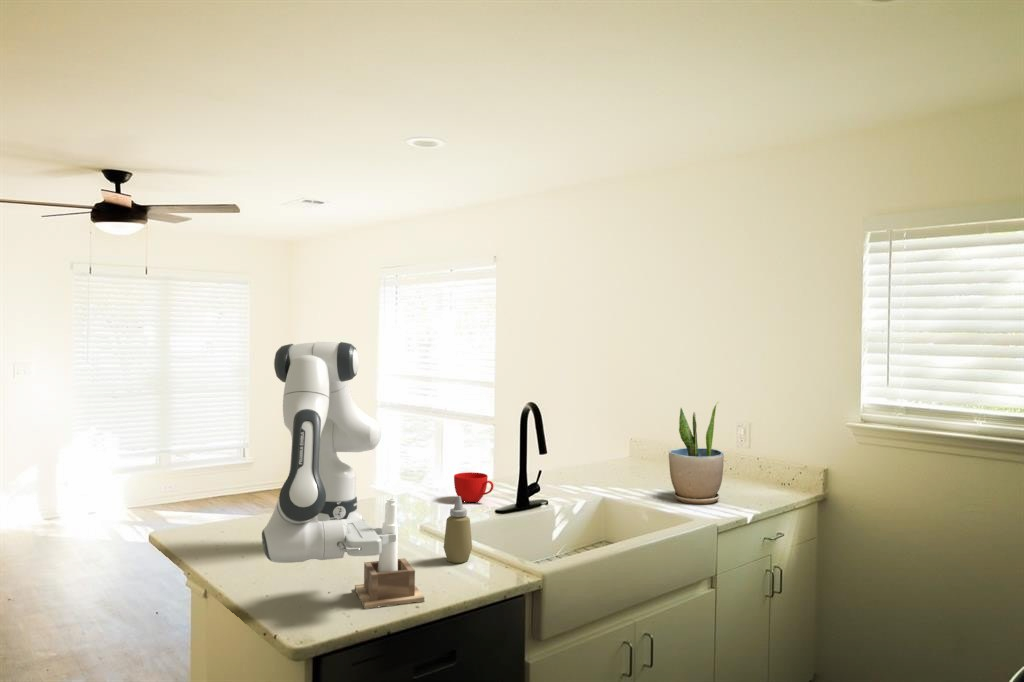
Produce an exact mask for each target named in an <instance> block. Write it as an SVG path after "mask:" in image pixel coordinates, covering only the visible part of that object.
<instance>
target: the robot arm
mask: <svg viewBox="0 0 1024 682" xmlns="http://www.w3.org/2000/svg"><path fill="white" fill-rule="evenodd" d="M356 348H357V347H355V346H354V345H353V344H352V343H349V342H343V341H340V342H335V341H334V342H330V341H315V342H304V343H297V344H293V343H289V344H284V345H281V346H280V347H279V348H278V349H277V350H276V352H275V354H274V355H275V356H274V361H273V368H274V371H275V372H274V373H275V376H276V377H277V379H279V381H281V382H282V383H284V387H283V388H284V389H283V396H282V397H283V398H282V415H283V416H282V417H283V423H284V426H285V427H286V428H287V430H289V432H290V436H291V449H290V450H291V451H290V466H289V471H288V472H289V473H288V476H287V478H286V480H285V481H284V483H283V485H282V486H281V489H280V492H279V495H278V499H277V502H276V505H275V507H274V510H273V511H272V514H271V517H270V519H269V520H268V522H267V524H266V526H265V527H264V528H263V529H262V530H261V531H262V532H261V541H262V543H261V544H262V548H263V552H264V555H265V557H266V559H268V560H269V561H270V562H272V563H277V564H278V563H279V564H287V563H289V564H292V563H293V564H294V563H303V562H306V561H308V560H318V561H325V560H326V561H327V560H337V559H343V558H344V556H345V553H346V554H347V556H349V557H350V556H351V557H370V556H371V557H372V556H374V557H375V556H379V555H380V554H381V551H382V545H383V544H386V543H389V542H395V541H396V535H395V534H394V533H387V534H386V535H381V534H382V527H379V526H378V527H377V526H372V525H371V524H370V522H369V521H368V520H367V519H362V518H363V517H362V515H361V514H360V513H359V512H358V511H357V508H358V501H357V500H358V497H357V496H356V493H357V492H356V491H357V488H356V487H357V485H356V484H357V481H356V480H357V479H356V478H357V474H356V472H355V470H354V468H353V467H351V466H350V465H349V464H347V463H345V462H343V461H341V459H340V458H339V456H338V453H363V452H367V451H368V452H369V451H374V449H376V447H377V446H378V444H379V443H380V440H381V436H382V430H381V426H380V424H379V422H378V421H377V419H375V418H374V417H373V416H370V415H368V414H367V413H365V412H364V411H363V410H362V409H360V407H359V406H358V405H357V403H356V402H355V401H354V398H353V395H352V391H351V386H350V383H349V382H350V381H351V380H353V379H354V378H355V376H357V374H358V370H359V367H360V357H359V353H358V351H357V349H356Z"/></svg>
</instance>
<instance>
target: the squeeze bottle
mask: <svg viewBox="0 0 1024 682" xmlns="http://www.w3.org/2000/svg"><path fill="white" fill-rule="evenodd" d="M455 497H456V498H455V501H454V506H453V507H452V508H451V509H449V516H448V517H447V518H446V525H445V532H444V541H443V551H444V553H445V557H446V559H447V561H448V562H449V563H452V564H453V563H454V564H460V563H461V564H462V563H466V562H468V560H469V559H470V555H471V553H472V549H473V540H472V529H471V528H472V527H471V519H470V517H469V516H467V514H468V511H467V510H468V509H466V508H464V506H463V502H462V500H461V496H458V495H456V496H455Z"/></svg>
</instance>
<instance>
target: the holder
mask: <svg viewBox="0 0 1024 682" xmlns="http://www.w3.org/2000/svg"><path fill="white" fill-rule="evenodd" d="M378 564H379V560H375V561H373V560H372V561H366V562H365V561H364V564H363V565H364V567H363V569H364V570H363V584H362V583H361V584H354V590H355V589H356V590H355V592H356V591H357V592H356V594H357V593H358V594H357V596H358V595H359V596H358V598H359V597H360V598H359V600H360V599H361V600H360V602H361V601H362V602H361V604H362V603H363V604H362V606H363V605H364V606H363V608H364V607H365V608H370V609H374V608H373V607H378V606H386V607H388V606H387V605H394V606H398V605H397V604H402V605H406V604H405V603H410V604H412V603H411V602H418V603H423V602H422V601H424V602H425V597H424V595H423V594H422V592H421V591H420V590H419V589H418V587H417V586H416V585H415V584H416V571H415V569H414V567H413V566H412V565H411V563H409V561H408V560H407V559H406V558H398V571H388V572H379V573H377V572H378ZM365 608H364V609H365ZM378 608H379V607H378Z"/></svg>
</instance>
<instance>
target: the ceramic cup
mask: <svg viewBox="0 0 1024 682" xmlns="http://www.w3.org/2000/svg"><path fill="white" fill-rule="evenodd" d="M453 484H454V490H455V493H456V496H461V500H462V501H465V502H477V503H479V502H480V501H481V499H482V498H483V497H484V495H485V496H486V495H488V494H490V493H491V492H493V490H494V482H493V481H491V480H488V474H486V473H482V472H475V471H473V472H472V471H471V472H470V471H469V472H461V473H460V472H459V473H455V474H454V476H453ZM488 484H489V485H490V488H489V490H488V491H487V487H488ZM478 501H479V502H478Z"/></svg>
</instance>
